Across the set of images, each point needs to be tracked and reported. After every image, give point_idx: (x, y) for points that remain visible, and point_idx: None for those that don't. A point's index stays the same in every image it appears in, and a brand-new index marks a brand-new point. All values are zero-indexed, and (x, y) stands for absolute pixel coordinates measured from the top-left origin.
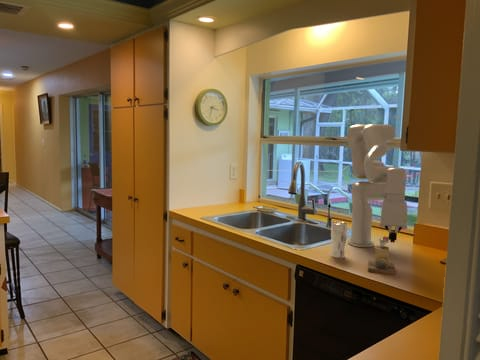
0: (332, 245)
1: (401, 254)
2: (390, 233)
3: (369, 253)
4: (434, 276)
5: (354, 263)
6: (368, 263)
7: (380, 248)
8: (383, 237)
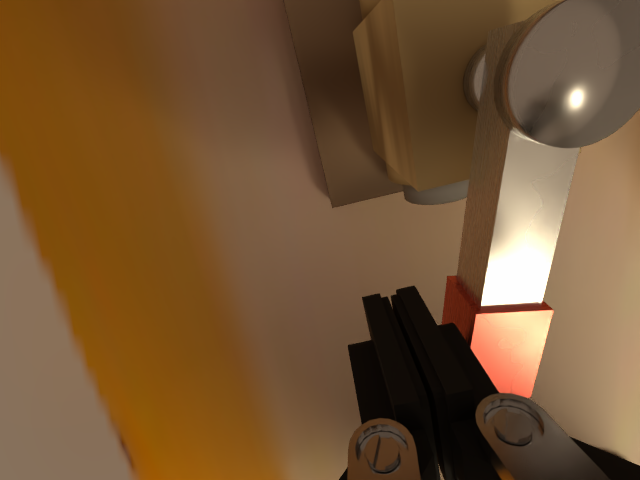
0: None
1: (334, 458)
2: (475, 399)
3: None
4: (35, 161)
5: None
6: None
7: (522, 11)
8: (539, 331)
